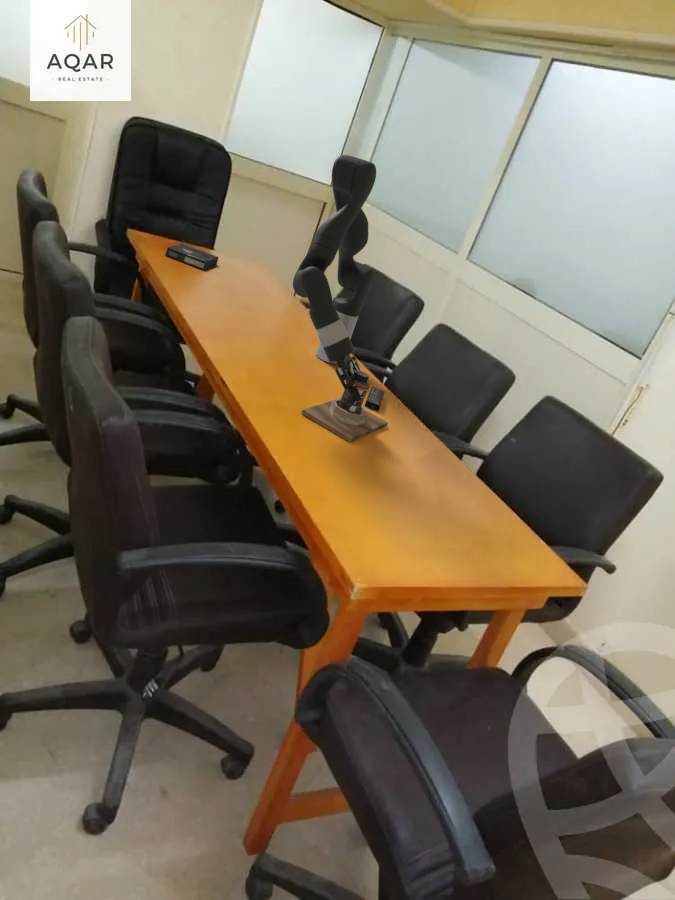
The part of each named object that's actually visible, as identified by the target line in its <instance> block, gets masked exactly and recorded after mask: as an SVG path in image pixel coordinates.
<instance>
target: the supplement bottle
mask: <svg viewBox="0 0 675 900" xmlns="http://www.w3.org/2000/svg"><path fill="white" fill-rule="evenodd" d="M369 379H370V375H369V374H368V373H367V372H365V371H362V370H361V371H359V370H357V371H356V372H355V378H354V381H355V384H356V387H357V389H358V391H359V393H360V396H361V399H360V400H359V401H356V402H354V401H353V399H352V397H351V395H350V392H349V389H348V390H347V389H344V390H343V392H342V395H341V397H340V398H341V400H340V403H339V407H340V408H342V409H344V410H345V411H347V412H350V413H354V414H358V413H359V411H360V409H361V406H363V404H364V400H365V399H366V396H367V393H368V391H369V388H370V384H369V382H368V381H369ZM348 383H349V381H348Z"/></svg>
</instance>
